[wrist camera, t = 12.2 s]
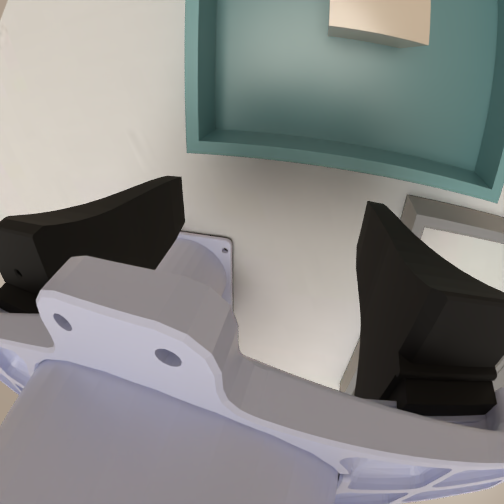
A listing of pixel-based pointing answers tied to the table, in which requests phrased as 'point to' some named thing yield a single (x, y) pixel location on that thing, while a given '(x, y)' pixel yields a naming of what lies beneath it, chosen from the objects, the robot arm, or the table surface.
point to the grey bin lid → (499, 379)
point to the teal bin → (349, 92)
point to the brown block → (381, 21)
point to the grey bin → (444, 219)
